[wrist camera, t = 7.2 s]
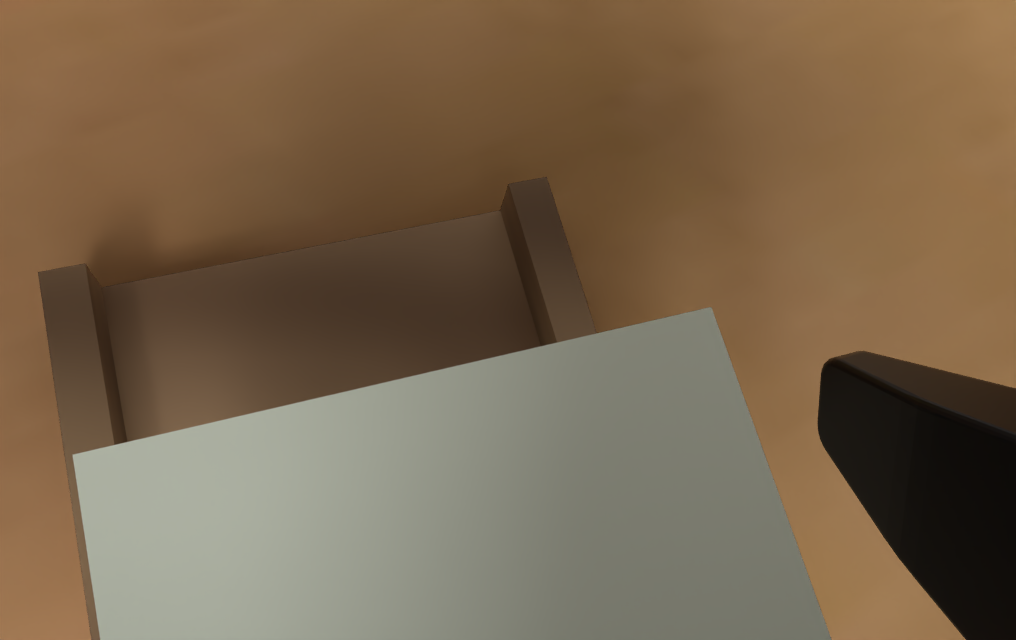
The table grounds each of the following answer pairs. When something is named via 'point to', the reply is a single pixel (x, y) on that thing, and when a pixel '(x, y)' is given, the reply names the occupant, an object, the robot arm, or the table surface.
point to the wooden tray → (303, 325)
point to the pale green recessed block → (463, 508)
